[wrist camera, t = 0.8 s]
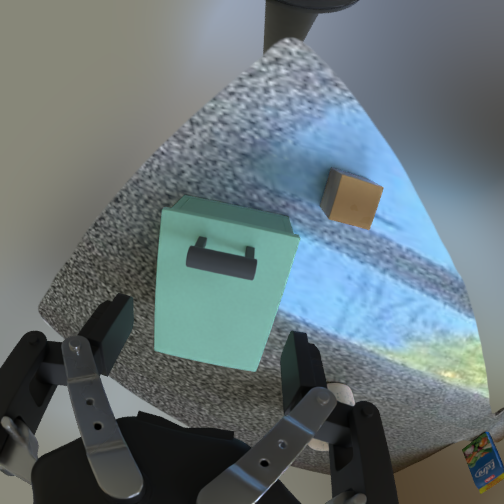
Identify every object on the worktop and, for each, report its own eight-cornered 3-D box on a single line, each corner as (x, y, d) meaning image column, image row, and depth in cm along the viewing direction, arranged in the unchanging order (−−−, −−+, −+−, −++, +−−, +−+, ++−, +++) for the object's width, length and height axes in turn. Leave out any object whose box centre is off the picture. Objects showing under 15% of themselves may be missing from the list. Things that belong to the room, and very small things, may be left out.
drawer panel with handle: (164, 206, 23) (144, 225, 19) (299, 234, 24) (308, 259, 20) (156, 346, 30) (143, 376, 26) (256, 367, 31) (255, 400, 26)
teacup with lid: (299, 412, 46) (304, 465, 36) (304, 382, 42) (312, 443, 32) (360, 406, 46) (373, 455, 35) (373, 376, 42) (392, 431, 31)
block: (330, 167, 29) (342, 174, 24) (367, 178, 29) (384, 187, 25) (319, 206, 30) (328, 219, 26) (356, 216, 31) (369, 230, 27)
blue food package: (489, 431, 63) (507, 476, 41) (466, 449, 68) (482, 493, 45) (485, 431, 62) (504, 477, 39) (461, 449, 66) (478, 495, 44)
